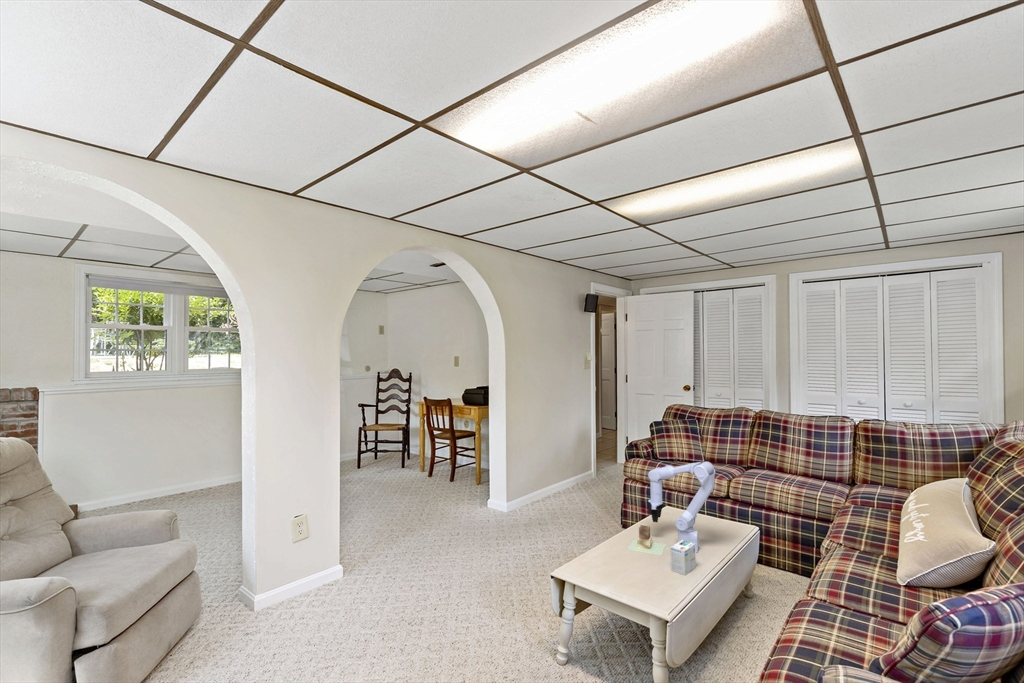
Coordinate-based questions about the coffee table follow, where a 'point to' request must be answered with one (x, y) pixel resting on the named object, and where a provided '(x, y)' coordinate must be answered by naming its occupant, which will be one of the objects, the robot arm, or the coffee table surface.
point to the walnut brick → (644, 532)
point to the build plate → (655, 549)
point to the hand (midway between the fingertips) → (656, 519)
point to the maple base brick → (644, 543)
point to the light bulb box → (683, 557)
